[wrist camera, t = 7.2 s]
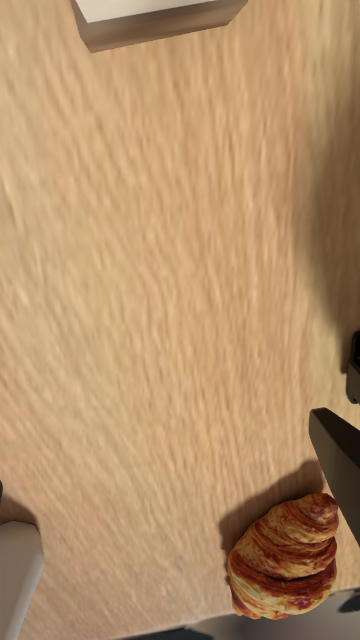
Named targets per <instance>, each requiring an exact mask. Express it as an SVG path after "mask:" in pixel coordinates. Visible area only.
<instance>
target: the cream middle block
mask: <svg viewBox="0 0 360 640" xmlns="http://www.w3.org/2000/svg"><path fill="white" fill-rule="evenodd" d="M209 1H214V0H76V2H77V4H78V6H79V8H80V10H81V12H82V13H83V15H84V17H85V19H86V21H87V23H90V22H96V21H101V20H107V19H113V18H118V17H124V16H130V15H135V14H141V13H147V12H152V11H158V10H164V9H169V8H175V7H180V6H186V5H192V4H197V3H203V2H209Z"/></svg>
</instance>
